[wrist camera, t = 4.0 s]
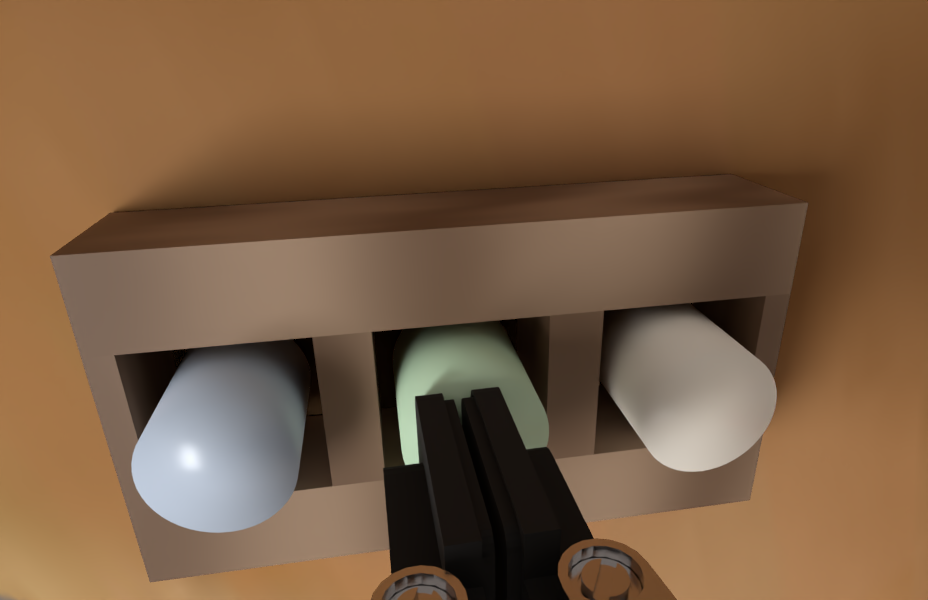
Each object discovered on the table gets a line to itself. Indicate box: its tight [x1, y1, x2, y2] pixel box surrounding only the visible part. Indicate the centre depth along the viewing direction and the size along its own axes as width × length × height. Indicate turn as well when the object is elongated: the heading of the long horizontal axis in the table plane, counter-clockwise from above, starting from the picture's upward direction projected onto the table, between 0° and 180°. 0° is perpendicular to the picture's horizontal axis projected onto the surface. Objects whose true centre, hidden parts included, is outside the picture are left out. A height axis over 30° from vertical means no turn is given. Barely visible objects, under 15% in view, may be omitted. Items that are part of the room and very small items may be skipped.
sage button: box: [393, 320, 549, 465], centre depth 14 cm, size 3×3×4 cm
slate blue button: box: [131, 339, 311, 533], centre depth 13 cm, size 3×3×4 cm
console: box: [50, 174, 808, 582], centre depth 15 cm, size 15×8×3 cm, turn 92°
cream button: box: [599, 303, 777, 472], centre depth 15 cm, size 3×3×4 cm
